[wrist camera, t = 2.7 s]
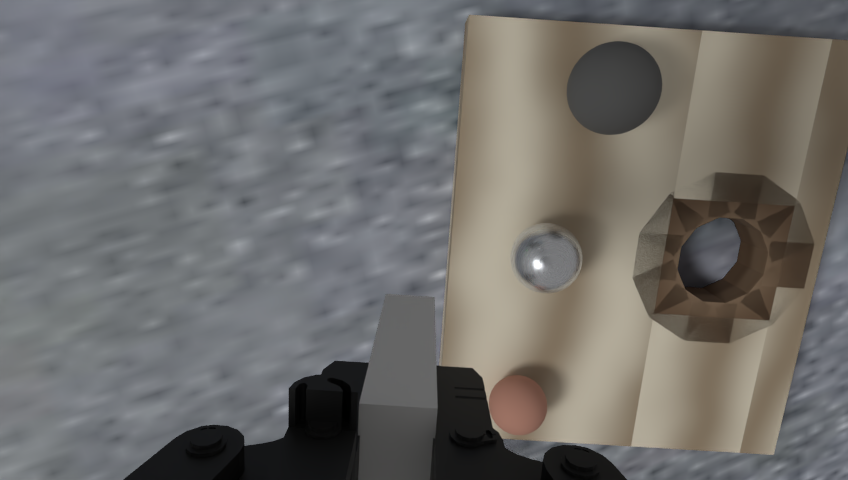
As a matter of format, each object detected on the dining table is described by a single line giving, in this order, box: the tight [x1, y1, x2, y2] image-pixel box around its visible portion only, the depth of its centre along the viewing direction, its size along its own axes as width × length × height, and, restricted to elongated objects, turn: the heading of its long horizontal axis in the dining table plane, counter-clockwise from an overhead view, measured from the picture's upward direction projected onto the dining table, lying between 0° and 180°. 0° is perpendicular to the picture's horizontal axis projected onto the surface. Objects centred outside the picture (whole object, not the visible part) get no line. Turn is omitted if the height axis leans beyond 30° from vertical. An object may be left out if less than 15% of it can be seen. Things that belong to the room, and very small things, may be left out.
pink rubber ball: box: [489, 375, 547, 435], centre depth 28 cm, size 3×3×3 cm
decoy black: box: [567, 41, 662, 135], centre depth 24 cm, size 4×4×4 cm
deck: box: [439, 15, 848, 455], centre depth 29 cm, size 19×22×2 cm
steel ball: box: [510, 223, 583, 293], centre depth 26 cm, size 3×3×3 cm
